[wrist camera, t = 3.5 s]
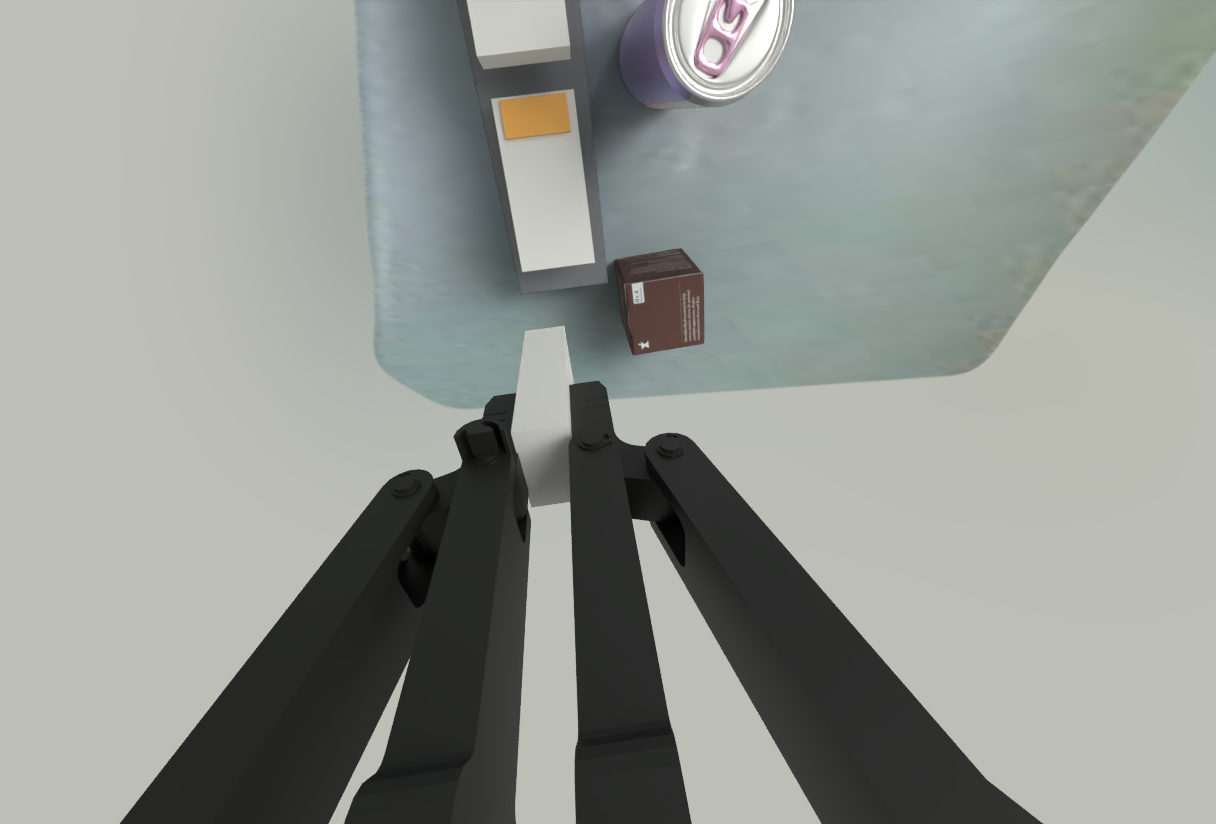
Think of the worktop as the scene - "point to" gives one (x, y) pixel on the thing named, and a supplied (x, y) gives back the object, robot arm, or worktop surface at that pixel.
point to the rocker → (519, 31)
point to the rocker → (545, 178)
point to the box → (661, 301)
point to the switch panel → (575, 77)
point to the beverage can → (702, 50)
